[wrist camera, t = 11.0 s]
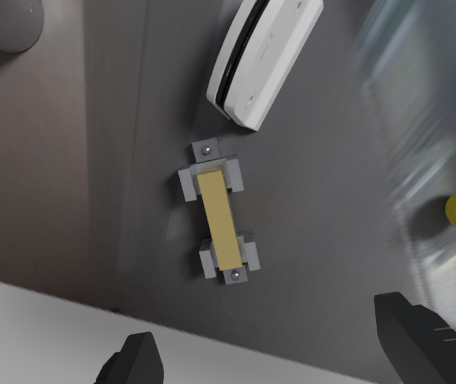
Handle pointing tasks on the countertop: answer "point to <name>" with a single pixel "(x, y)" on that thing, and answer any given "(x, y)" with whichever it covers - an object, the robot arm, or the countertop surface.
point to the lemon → (451, 209)
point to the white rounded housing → (259, 56)
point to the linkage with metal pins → (211, 158)
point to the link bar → (220, 217)
